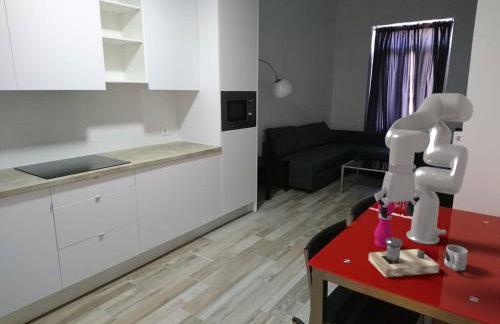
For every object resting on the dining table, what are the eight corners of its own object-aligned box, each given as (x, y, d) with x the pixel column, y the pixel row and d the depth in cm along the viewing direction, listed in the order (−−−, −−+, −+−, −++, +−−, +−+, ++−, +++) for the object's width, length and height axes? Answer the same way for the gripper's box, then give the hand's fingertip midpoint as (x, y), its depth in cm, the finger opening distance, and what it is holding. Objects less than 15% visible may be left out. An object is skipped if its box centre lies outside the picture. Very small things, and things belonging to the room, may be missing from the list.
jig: (417, 256, 127) (418, 244, 126) (438, 272, 115) (440, 259, 114) (368, 260, 124) (369, 247, 123) (385, 277, 112) (386, 264, 111)
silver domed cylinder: (395, 261, 122) (396, 236, 120) (403, 269, 117) (405, 243, 115) (381, 262, 121) (383, 238, 119) (389, 270, 116) (391, 244, 114)
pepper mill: (390, 250, 131) (394, 203, 127) (372, 246, 135) (375, 200, 131) (393, 243, 137) (397, 198, 133) (375, 239, 141) (378, 195, 137)
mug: (444, 259, 124) (446, 243, 122) (465, 264, 121) (467, 247, 119) (444, 272, 115) (446, 254, 114) (466, 277, 112) (469, 259, 111)
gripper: (417, 165, 116) (412, 210, 120) (371, 167, 114) (368, 213, 118) (431, 170, 109) (426, 218, 112) (382, 172, 107) (379, 221, 110)
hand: (396, 215), depth 115 cm, fingers open, 9 cm apart
